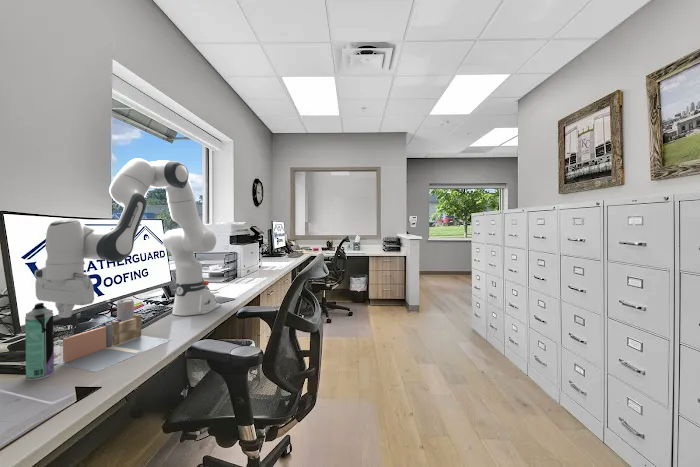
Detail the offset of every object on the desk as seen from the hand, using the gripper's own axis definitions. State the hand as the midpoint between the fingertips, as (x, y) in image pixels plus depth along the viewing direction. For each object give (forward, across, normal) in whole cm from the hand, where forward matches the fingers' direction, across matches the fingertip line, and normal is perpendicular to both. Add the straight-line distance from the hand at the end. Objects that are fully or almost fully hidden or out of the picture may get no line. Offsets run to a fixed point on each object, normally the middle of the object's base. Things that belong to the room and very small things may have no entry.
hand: (64, 316), depth 99 cm
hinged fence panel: (+12, -5, -3) cm, 14 cm away
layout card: (+12, -10, -8) cm, 18 cm away
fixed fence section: (+12, -5, -16) cm, 20 cm away
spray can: (+13, -7, +10) cm, 18 cm away
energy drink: (+12, +5, -24) cm, 27 cm away
